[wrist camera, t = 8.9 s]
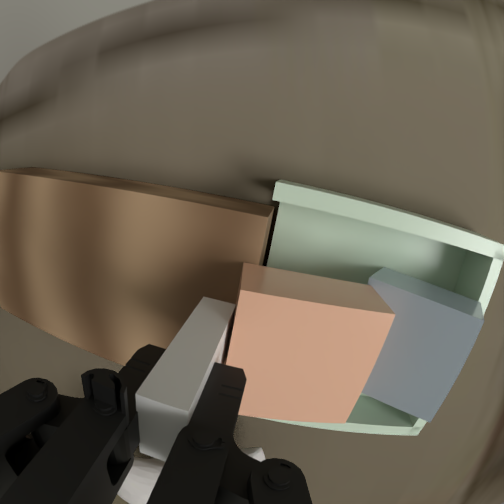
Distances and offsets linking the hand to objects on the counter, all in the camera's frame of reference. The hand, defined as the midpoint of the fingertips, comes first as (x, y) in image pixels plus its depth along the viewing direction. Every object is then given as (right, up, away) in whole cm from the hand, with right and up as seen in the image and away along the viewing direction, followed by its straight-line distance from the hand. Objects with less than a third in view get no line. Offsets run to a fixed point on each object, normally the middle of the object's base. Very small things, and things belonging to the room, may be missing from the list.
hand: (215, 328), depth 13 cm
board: (-7, +3, +6) cm, 9 cm away
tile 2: (+4, -1, +1) cm, 4 cm away
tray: (+8, 0, +4) cm, 9 cm away
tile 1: (+9, -2, 0) cm, 9 cm away
